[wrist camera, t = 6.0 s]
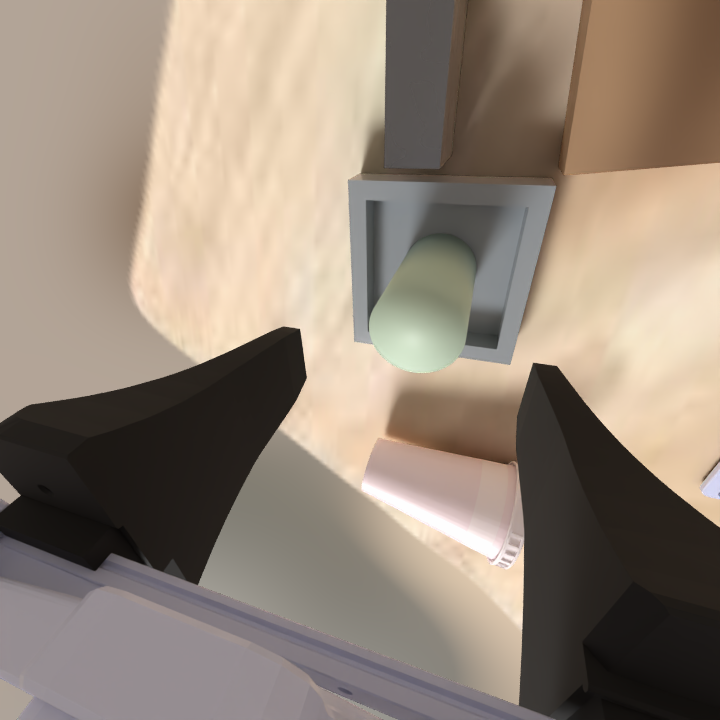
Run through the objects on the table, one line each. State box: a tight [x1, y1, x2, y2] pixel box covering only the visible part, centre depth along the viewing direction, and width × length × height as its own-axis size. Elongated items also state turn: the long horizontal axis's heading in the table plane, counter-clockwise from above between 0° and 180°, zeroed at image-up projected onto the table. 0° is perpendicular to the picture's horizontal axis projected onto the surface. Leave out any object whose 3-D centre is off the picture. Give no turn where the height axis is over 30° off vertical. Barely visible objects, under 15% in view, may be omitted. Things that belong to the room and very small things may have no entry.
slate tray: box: [348, 173, 556, 365], centre depth 18 cm, size 8×8×2 cm
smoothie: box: [362, 438, 524, 569], centre depth 24 cm, size 6×6×14 cm
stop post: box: [384, 0, 468, 169], centre depth 13 cm, size 2×6×4 cm, turn 2°
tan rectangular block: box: [558, 0, 720, 175], centre depth 12 cm, size 8×6×2 cm
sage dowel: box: [369, 233, 476, 373], centre depth 16 cm, size 4×4×6 cm
